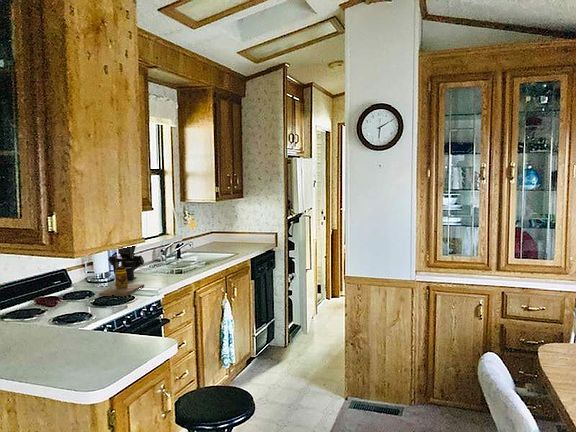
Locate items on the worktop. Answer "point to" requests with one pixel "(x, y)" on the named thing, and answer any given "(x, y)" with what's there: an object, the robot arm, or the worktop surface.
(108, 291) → the walnut board
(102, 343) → the worktop surface
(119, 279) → the yellow black cylinder
